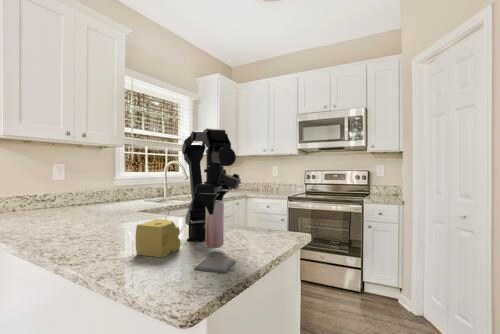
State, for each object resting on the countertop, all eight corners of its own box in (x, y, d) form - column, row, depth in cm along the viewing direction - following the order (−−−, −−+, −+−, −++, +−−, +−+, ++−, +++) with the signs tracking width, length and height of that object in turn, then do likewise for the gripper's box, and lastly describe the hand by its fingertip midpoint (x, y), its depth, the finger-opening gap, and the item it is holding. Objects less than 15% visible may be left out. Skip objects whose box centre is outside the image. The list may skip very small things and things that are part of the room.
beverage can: (206, 243, 95) (206, 200, 95) (223, 243, 96) (223, 200, 95) (204, 248, 89) (205, 202, 89) (223, 248, 90) (223, 202, 90)
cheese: (180, 249, 95) (180, 220, 95) (161, 259, 85) (161, 226, 85) (155, 246, 99) (155, 218, 99) (133, 255, 89) (134, 224, 89)
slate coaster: (194, 269, 76) (194, 267, 76) (207, 259, 85) (207, 257, 85) (225, 273, 74) (225, 270, 74) (234, 262, 83) (234, 259, 83)
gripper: (229, 166, 81) (229, 219, 81) (245, 166, 99) (244, 210, 99) (194, 166, 84) (194, 217, 84) (216, 166, 102) (215, 208, 102)
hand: (214, 213), depth 92 cm, fingers closed on beverage can, 6 cm apart
